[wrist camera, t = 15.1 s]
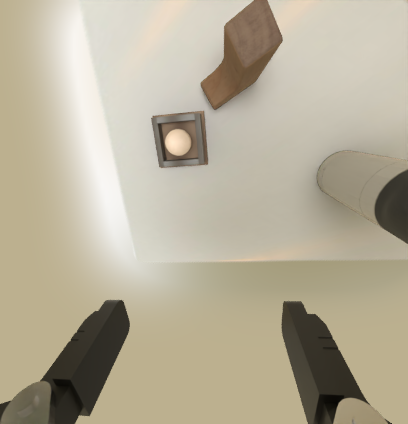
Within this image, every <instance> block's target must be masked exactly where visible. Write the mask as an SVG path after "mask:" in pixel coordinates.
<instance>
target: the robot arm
mask: <svg viewBox="0 0 408 424" xmlns="http://www.w3.org/2000/svg"><path fill="white" fill-rule="evenodd" d="M317 181H318V185H319V187H320V188H321V189H322V191H324V192H325V193H327V194H328V195H330V196H331V197H333V198H334V199H336V200H338V201H339V202H341V203H342V204H344V205H346V206H347V207H349V208H351V209H352V210H354V211H355V212H357V213H359V214H360V215H362V216H363V217H365V218H367V219H368V220H370V221H372V222H373V223H375V224H377V225H378V226H380V227H381V228H383V229H385V230H386V231H388V232H390V233H391V234H393V235H395V236H396V237H398V238H399V239H401V240H403V241H404V242H406V243H407V244H408V160H402V159H396V158H390V157H384V156H378V155H372V154H366V153H361V152H354V151H341V152H337V153H335V154H333V155H331V156H330V157H328V158H327V159H326V160H325V161H324V162H323V164H322V165H321V167H320V169H319V171H318V175H317ZM129 327H130V323H129V318H128V315H127V311H126V309H125V305H124V302H123V301H122V300H107V301H105V302H104V304H103V305H102V306H101V308H100V310H99V311H95V312H94V313H93V314H91V315H90V316H89V317H88V318H87V319H86V320H85V321H84V322H83V323H82V325H81V326H80V327H79V329H78V330H77V333H75V334H74V336H73V337H72V339H71V341H70V342H69V343H68V344H67V345H66V347H65V348H64V350H63V351H62V352H61V353H60V355H59V356H58V358H57V359H56V361H55V362H54V363H53V364H52V366H51V367H50V369H49V370H48V371H47V373H46V374H45V376H44V377H43V378H42V379H41V380H40V382H36V383H33V384H31V385H29V386H28V387H26V388H25V389H23V390H22V391H21V392H20V393H18V394H17V395H16V396H15V397H14V398H13V400H12V401H8V402H5V403H3V404H0V424H75V422H76V420H77V418H78V416H79V415H82V416H90V414H91V412H92V410H93V408H94V406H95V403H96V401H97V399H98V397H99V395H100V393H101V390H102V388H103V386H104V384H105V382H106V380H107V377H108V375H109V373H110V371H111V369H112V367H113V365H114V363H115V361H116V358H117V356H118V354H119V352H120V350H121V348H122V345H123V343H124V341H125V339H126V337H127V335H128V332H129ZM282 334H283V339H284V342H285V346H286V349H287V353H288V356H289V359H290V363H291V366H292V370H293V373H294V377H295V380H296V384H297V387H298V391H299V394H300V398H301V401H302V405H303V408H304V412H305V415H306V418H307V422H308V424H392V423H390V422H389V421H387V420H386V419H384V418H383V417H382V416H381V414H380V413H379V412H378V411H376V410H375V409H374V408H373V407H372V406H371V405H370V404H369V403H368V402H367V401H366V399H365V397H364V396H363V394H362V392H361V390H360V388H359V386H358V385H357V383H356V381H355V379H354V377H353V375H352V373H351V372H350V369H349V368H348V366H347V364H346V362H345V360H344V358H343V356H342V354H341V352H340V351H339V350H338V347H337V345H336V343H335V341H334V340H333V338H332V335H331V333H330V331H329V330H328V328H327V326H326V324H325V323H324V322H323V321H322V320H321V319H320V318H319V317H318V316H317V315H316V314H307V312H306V310H305V308H304V305H303V304H302V302H301V301H297V302H296V301H291V302H290V301H284V303H283V313H282Z"/></svg>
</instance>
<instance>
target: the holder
mask: <svg viewBox="0 0 408 424" xmlns="http://www.w3.org/2000/svg"><path fill="white" fill-rule="evenodd" d="M151 119H152V125H153V131H154V138H155V144H156V150H157V156H158V162H159V167H161V168H164V167H178V166H192V165H205V164H208V158H207V145H206V132H205V119H204V111H197V112H188V113H178V114H168V115H158V116H153V118H151ZM175 129H181V130H184V131H186V132H187V133H188V134H189V136H190V138H191V147H190V149H189V151H188V152H187V153H186V154H184V155H181V156H176V155H173V154H171V153H170V152H169V151H168V150H167V148H166V145H165V140H166V136H167V135H168V133H169V132H170V131H172V130H175Z"/></svg>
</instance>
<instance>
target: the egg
mask: <svg viewBox="0 0 408 424" xmlns="http://www.w3.org/2000/svg"><path fill="white" fill-rule="evenodd" d="M165 145H166V148H167V150H168V151H169V152H170V153H171V154H173V155H176V156H181V155H184V154H186V153H187V152H188V151H189V149H190V147H191V138H190V136H189V134H188V133H187V132H186V131H184V130H181V129H175V130H172V131H170V132H169V133H168V135H167V136H166V140H165Z"/></svg>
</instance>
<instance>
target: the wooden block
mask: <svg viewBox="0 0 408 424" xmlns="http://www.w3.org/2000/svg"><path fill="white" fill-rule="evenodd" d="M281 43H282V35H281V33H280V30H279V28H278V25H277V23H276V21H275V18H274V16H273V13H272V11H271V8H270V6H269V3H268V1H267V0H254V1H253V2H252V3H250V4H249V5H248V6H247V7H246V8H244V9H243V10H242V11H241V12H239V13H238V14H237V15H236V16H235V17H233V18H232V19H231V20H230V21H229V22H227V23H226V25H225V26H224V59H223V61H222V63H221V64H220V65H219V67H218V68H217V69H216V70H215V71H214V72H213V73H212V74H210V75H209V76H208V77H207V78H206V79H204V80H203V81H202V82H201V87H202V89H203V91H204V92H205V94H206V96H207V98H208V100H209V102H210V103H211V105H212V107H213V109H217V108H219V107H220V106H221V105H223V104H224V103H226V102H227V101H229V100H230V99H231V98H233V97H234V96H236V95H237V94H239V93H240V92H241V91H243V90H244V89H246V88H247V87H248V86H250V85H251V84H253V83H254V82H255V81H256V80H257V79H258V77H259V76H260V74H261V73H262V71H263V70H264V68H265V67H266V65H267V64H268V62H269V61H270V59H271V58H272V56H273V55H274V53H275V52H276V50H277V49H278V47H279V46H280V44H281Z"/></svg>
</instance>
